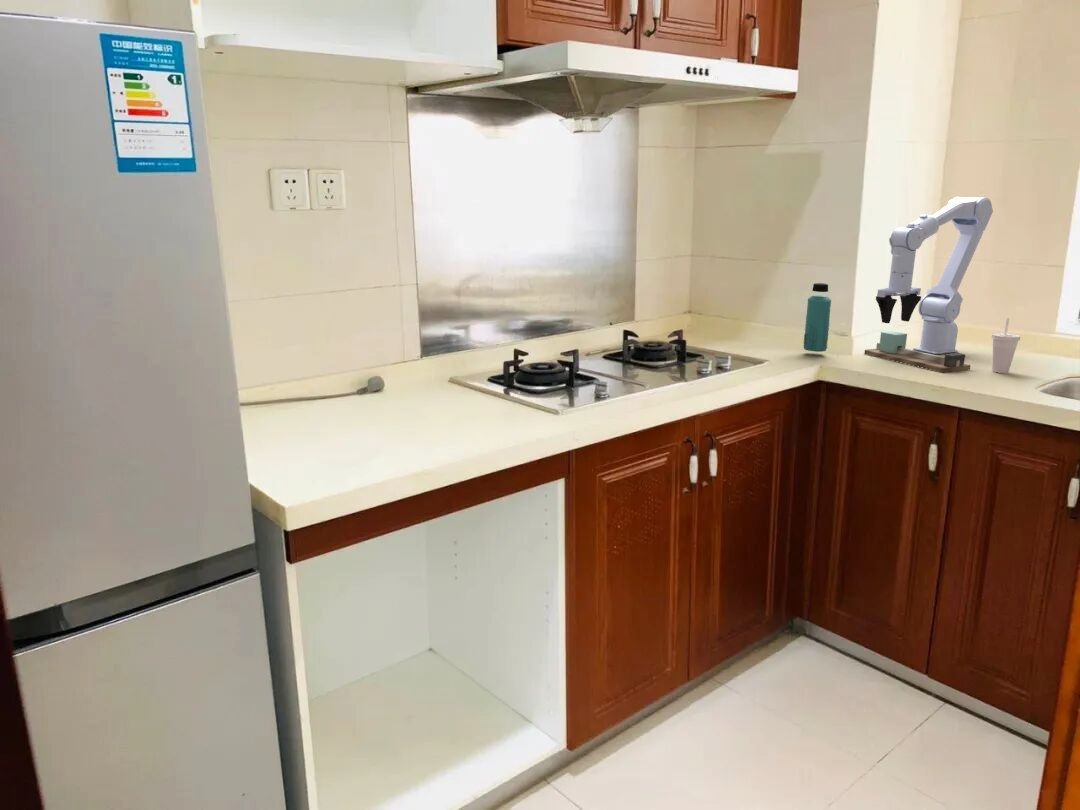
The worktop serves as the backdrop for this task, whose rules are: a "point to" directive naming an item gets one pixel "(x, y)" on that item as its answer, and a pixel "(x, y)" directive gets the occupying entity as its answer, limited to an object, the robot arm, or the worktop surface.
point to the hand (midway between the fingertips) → (895, 321)
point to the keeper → (892, 341)
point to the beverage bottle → (817, 320)
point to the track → (923, 359)
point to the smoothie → (1003, 350)
